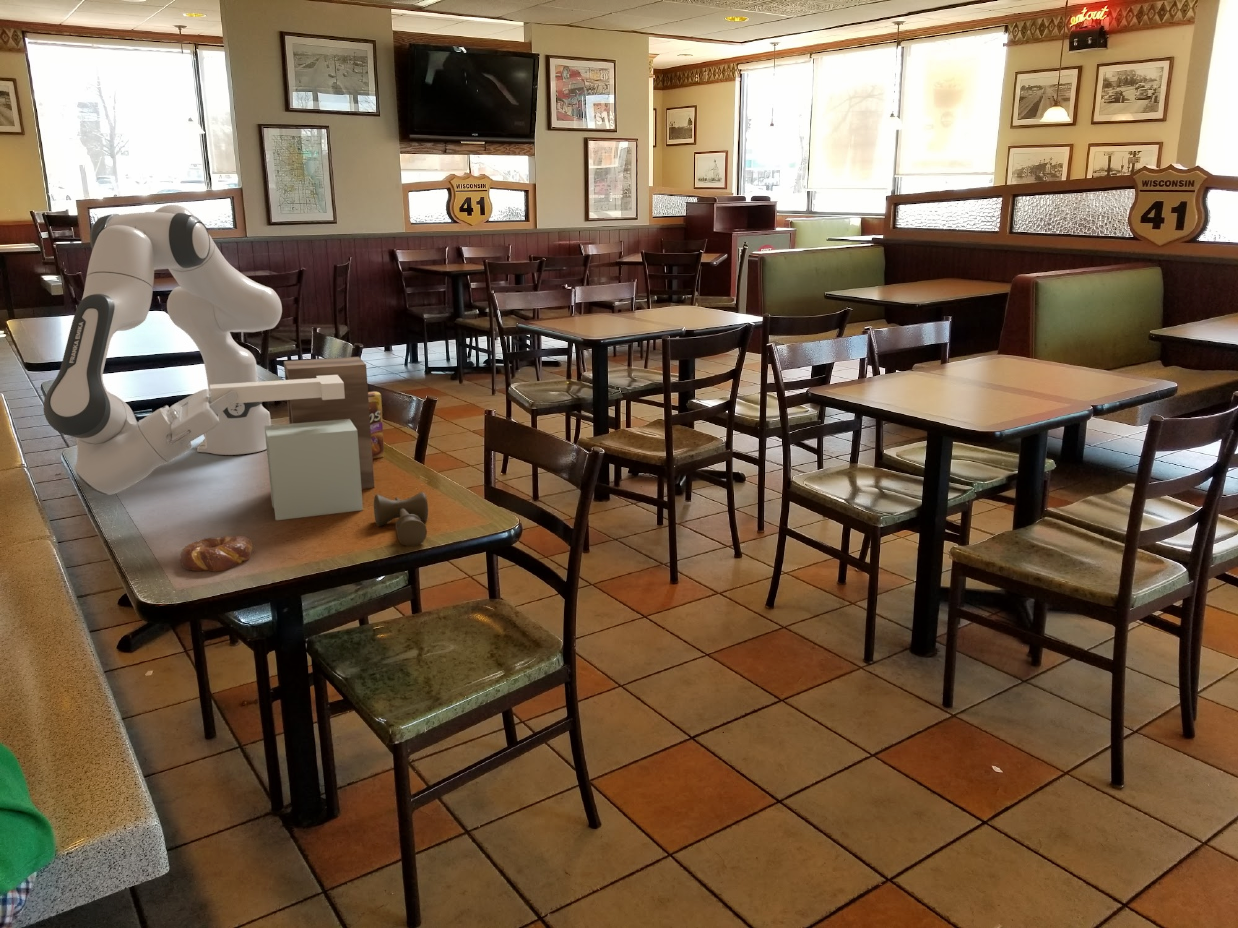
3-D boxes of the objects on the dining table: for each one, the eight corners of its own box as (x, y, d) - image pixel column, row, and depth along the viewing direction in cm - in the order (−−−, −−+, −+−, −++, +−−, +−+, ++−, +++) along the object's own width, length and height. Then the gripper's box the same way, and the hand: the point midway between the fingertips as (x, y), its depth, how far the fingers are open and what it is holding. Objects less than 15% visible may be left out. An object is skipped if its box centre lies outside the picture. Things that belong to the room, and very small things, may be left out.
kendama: (385, 553, 163) (371, 514, 181) (440, 547, 167) (421, 510, 184) (383, 520, 161) (370, 485, 179) (440, 515, 165) (421, 481, 183)
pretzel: (235, 544, 166) (233, 524, 165) (268, 559, 159) (266, 539, 158) (167, 563, 157) (164, 542, 156) (199, 579, 150) (197, 558, 149)
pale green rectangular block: (272, 504, 186) (264, 425, 181) (355, 495, 192) (349, 418, 188) (276, 520, 177) (267, 437, 173) (362, 509, 183) (357, 430, 179)
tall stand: (294, 482, 200) (283, 361, 193) (366, 474, 206) (358, 356, 199) (299, 495, 191) (287, 369, 184) (374, 487, 197) (366, 364, 190)
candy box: (347, 463, 215) (342, 397, 211) (341, 458, 218) (336, 394, 214) (385, 457, 220) (381, 393, 215) (379, 453, 223) (374, 390, 219)
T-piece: (211, 398, 176) (209, 382, 175) (338, 389, 185) (337, 374, 184) (211, 407, 168) (210, 391, 167) (344, 398, 177) (343, 382, 176)
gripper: (154, 431, 160) (226, 386, 162) (159, 407, 178) (223, 367, 181) (178, 460, 162) (249, 416, 165) (180, 434, 180) (244, 394, 183)
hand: (235, 390), depth 173 cm, fingers closed on T-piece, 4 cm apart
